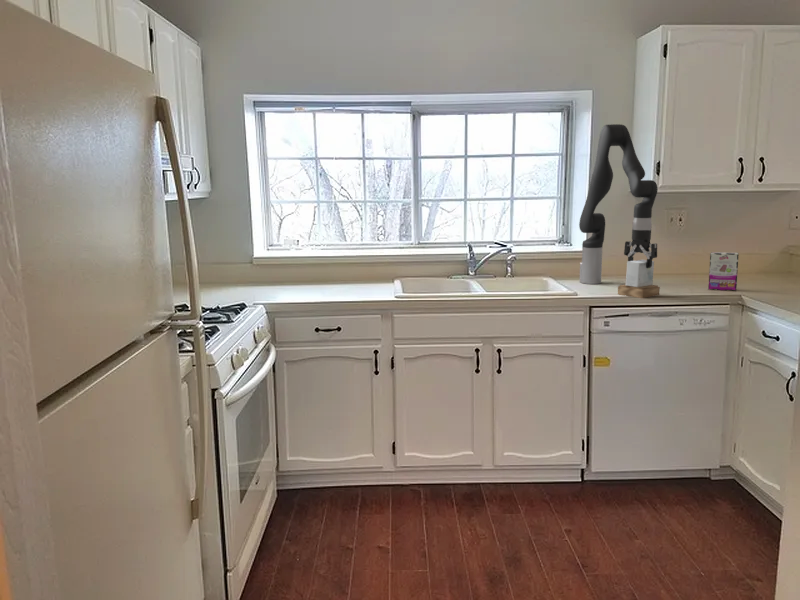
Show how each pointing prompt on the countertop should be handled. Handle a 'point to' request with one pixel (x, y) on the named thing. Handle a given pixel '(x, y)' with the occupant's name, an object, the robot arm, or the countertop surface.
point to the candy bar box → (723, 271)
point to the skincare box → (639, 273)
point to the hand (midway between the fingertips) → (639, 266)
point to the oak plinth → (639, 291)
